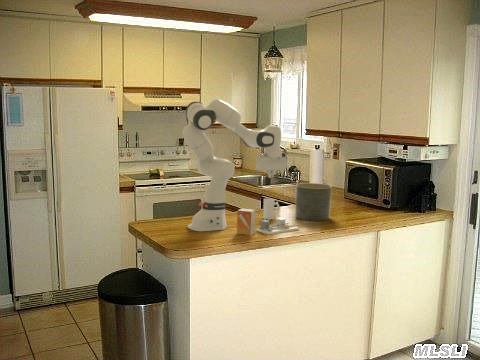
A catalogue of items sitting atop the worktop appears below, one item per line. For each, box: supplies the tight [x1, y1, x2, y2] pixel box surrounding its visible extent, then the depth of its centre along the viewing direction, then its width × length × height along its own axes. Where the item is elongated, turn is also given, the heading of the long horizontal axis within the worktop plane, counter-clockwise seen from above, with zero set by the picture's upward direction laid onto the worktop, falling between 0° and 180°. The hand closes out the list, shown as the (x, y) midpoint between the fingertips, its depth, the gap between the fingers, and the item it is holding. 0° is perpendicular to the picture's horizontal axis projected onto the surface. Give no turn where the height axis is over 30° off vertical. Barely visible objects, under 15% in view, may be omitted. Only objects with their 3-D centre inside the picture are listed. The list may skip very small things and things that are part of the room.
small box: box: [236, 208, 256, 236], centre depth 270 cm, size 8×6×13 cm
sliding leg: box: [276, 217, 290, 227], centre depth 280 cm, size 3×9×4 cm, turn 35°
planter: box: [294, 182, 333, 222], centre depth 315 cm, size 22×22×20 cm
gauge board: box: [256, 219, 300, 235], centre depth 279 cm, size 22×10×6 cm, turn 125°
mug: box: [262, 198, 280, 221], centre depth 308 cm, size 10×7×12 cm, turn 71°
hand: (270, 177), depth 290 cm, fingers closed
